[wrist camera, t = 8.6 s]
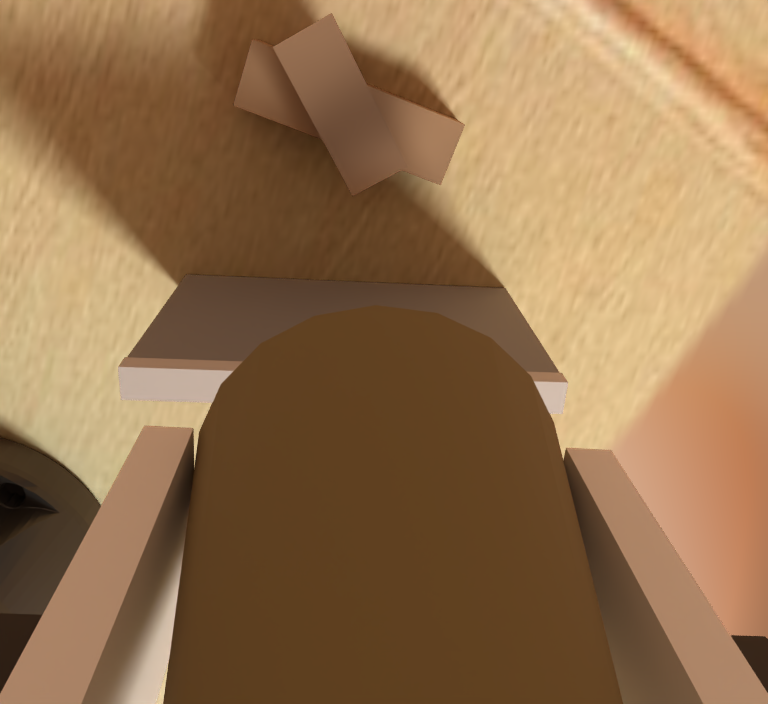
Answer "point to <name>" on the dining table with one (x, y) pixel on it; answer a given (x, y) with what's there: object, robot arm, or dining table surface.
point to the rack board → (290, 307)
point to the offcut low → (403, 117)
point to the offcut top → (340, 104)
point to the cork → (384, 528)
